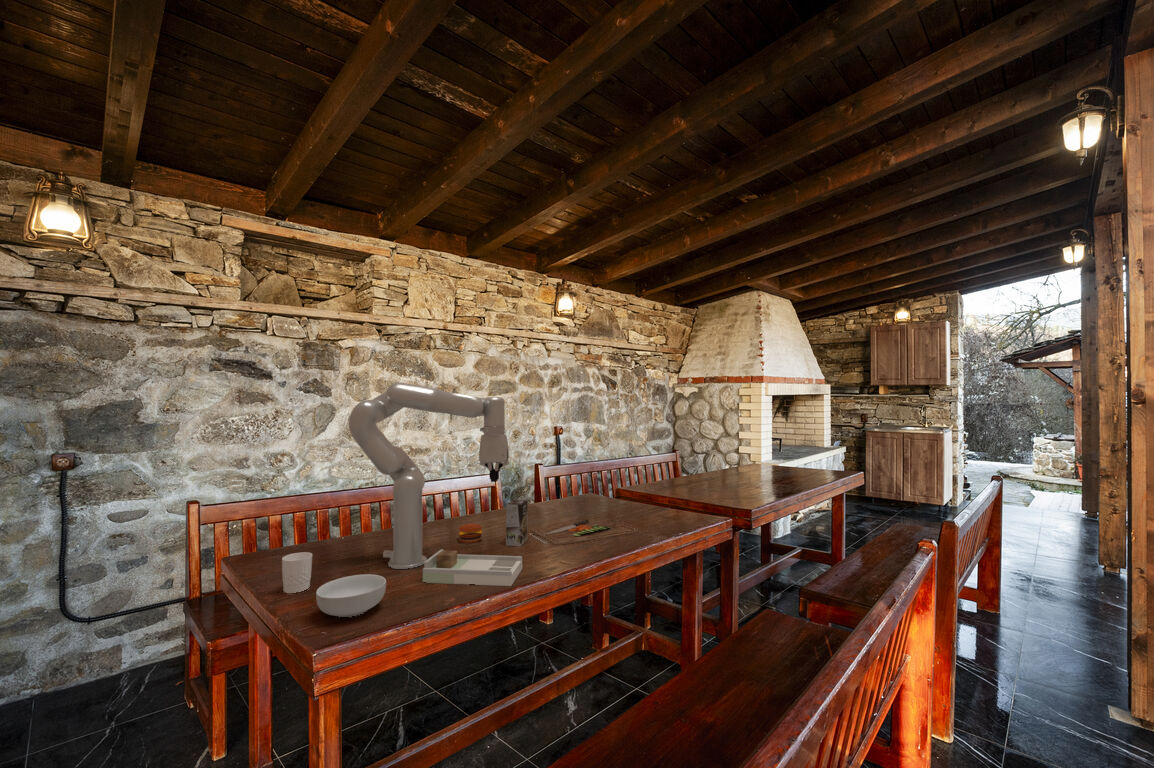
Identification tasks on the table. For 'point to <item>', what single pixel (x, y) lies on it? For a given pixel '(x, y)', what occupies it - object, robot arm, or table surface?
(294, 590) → the white cup
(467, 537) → the hamburger
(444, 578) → the tray
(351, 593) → the cereal bowl
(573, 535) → the chopping board
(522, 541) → the coffee box
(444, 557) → the walnut block
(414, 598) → the table surface
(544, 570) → the table surface
